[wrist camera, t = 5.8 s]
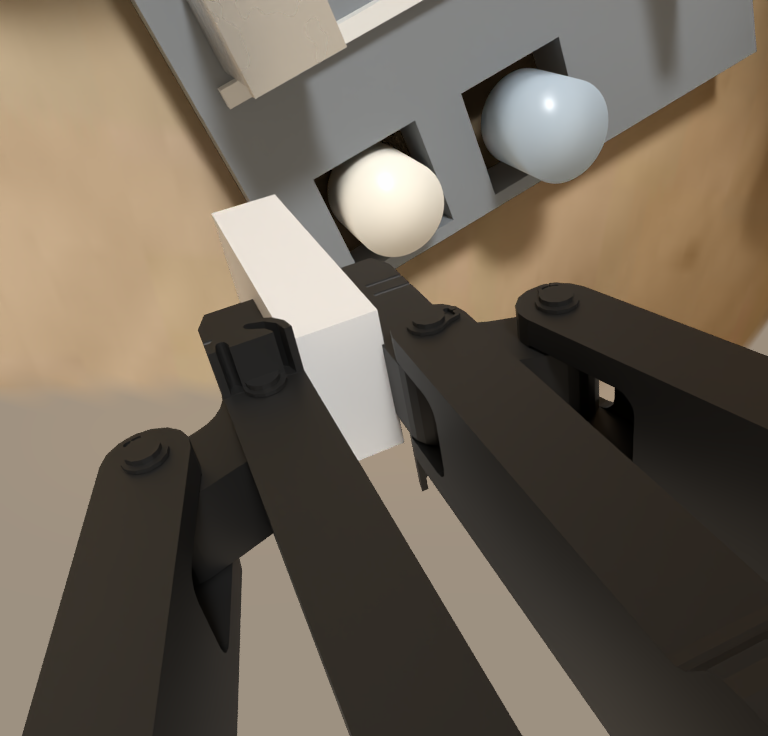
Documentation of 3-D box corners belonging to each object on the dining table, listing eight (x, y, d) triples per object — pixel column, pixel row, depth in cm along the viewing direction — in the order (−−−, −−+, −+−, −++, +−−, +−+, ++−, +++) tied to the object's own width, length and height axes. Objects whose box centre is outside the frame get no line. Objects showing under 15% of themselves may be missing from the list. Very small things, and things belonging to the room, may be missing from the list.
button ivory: (311, 171, 31) (336, 192, 28) (392, 125, 31) (424, 141, 28) (350, 248, 33) (376, 274, 30) (424, 204, 33) (456, 226, 31)
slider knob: (173, -18, 24) (198, -11, 20) (257, -64, 24) (299, -67, 20) (223, 75, 26) (255, 98, 22) (300, 31, 26) (347, 47, 22)
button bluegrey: (468, 96, 30) (509, 111, 27) (549, 50, 30) (596, 59, 28) (496, 180, 32) (536, 201, 30) (570, 136, 33) (617, 152, 30)
